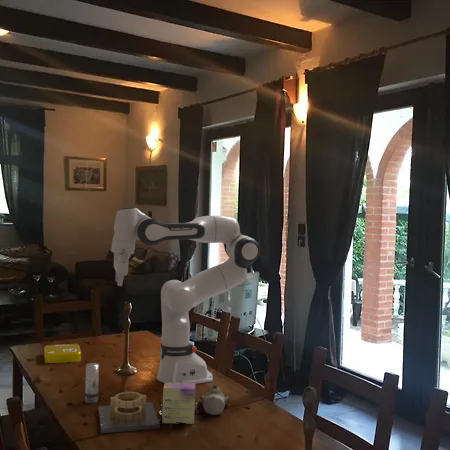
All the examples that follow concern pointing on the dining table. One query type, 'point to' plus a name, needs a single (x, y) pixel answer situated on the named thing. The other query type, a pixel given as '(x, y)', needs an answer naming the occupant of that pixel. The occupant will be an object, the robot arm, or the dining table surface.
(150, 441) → the dining table surface
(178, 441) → the dining table surface
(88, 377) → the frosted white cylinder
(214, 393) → the ceramic sculpture
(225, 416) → the dining table surface
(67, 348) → the element tile
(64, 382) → the dining table surface
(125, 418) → the collar stand
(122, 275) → the robot arm
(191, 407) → the box
